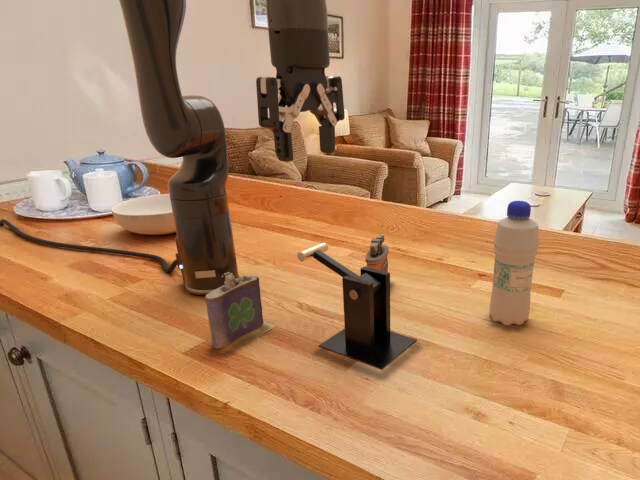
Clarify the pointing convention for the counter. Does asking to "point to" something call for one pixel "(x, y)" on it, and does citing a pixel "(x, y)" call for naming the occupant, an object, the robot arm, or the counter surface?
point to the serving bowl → (146, 215)
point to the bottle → (514, 264)
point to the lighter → (378, 254)
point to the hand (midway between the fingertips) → (307, 156)
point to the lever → (335, 264)
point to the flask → (234, 309)
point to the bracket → (368, 323)
